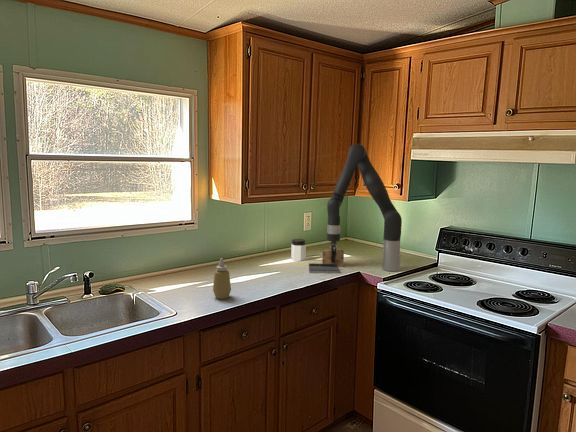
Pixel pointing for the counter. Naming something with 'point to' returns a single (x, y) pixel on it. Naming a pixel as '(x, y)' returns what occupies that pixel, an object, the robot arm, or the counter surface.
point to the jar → (298, 250)
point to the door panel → (338, 258)
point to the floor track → (323, 268)
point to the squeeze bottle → (221, 281)
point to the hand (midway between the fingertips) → (332, 261)
